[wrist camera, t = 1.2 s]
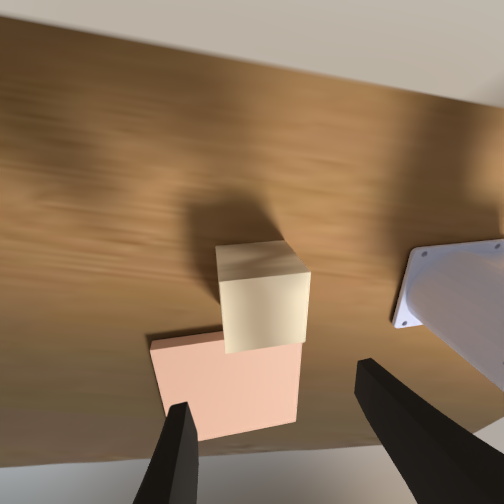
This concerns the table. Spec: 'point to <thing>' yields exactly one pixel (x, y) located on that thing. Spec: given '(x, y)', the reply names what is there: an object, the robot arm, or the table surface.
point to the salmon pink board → (228, 383)
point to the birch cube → (262, 295)
